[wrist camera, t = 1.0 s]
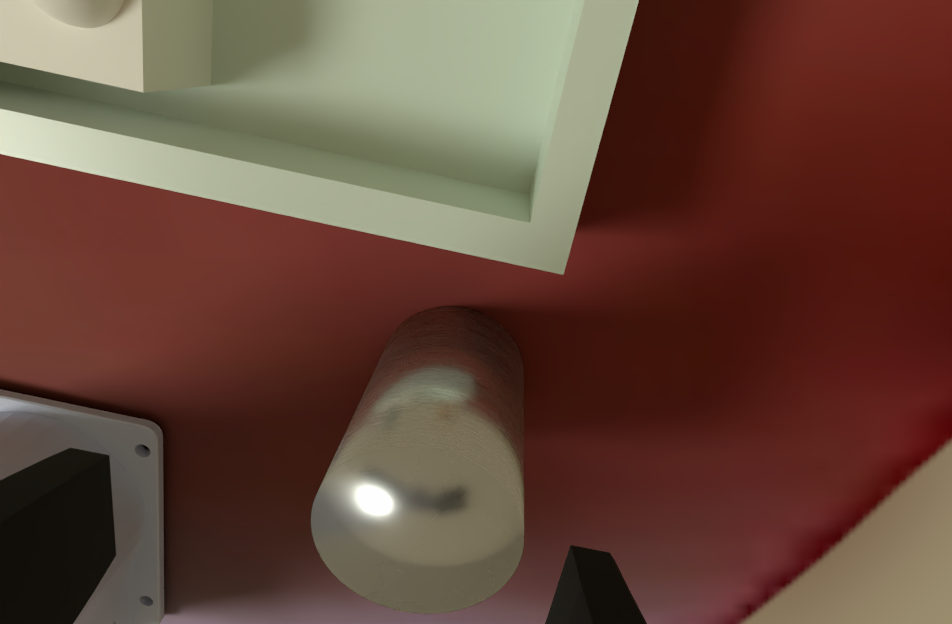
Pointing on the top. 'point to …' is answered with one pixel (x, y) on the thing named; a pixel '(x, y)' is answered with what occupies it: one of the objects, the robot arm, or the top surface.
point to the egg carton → (112, 40)
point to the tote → (363, 118)
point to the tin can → (430, 469)
